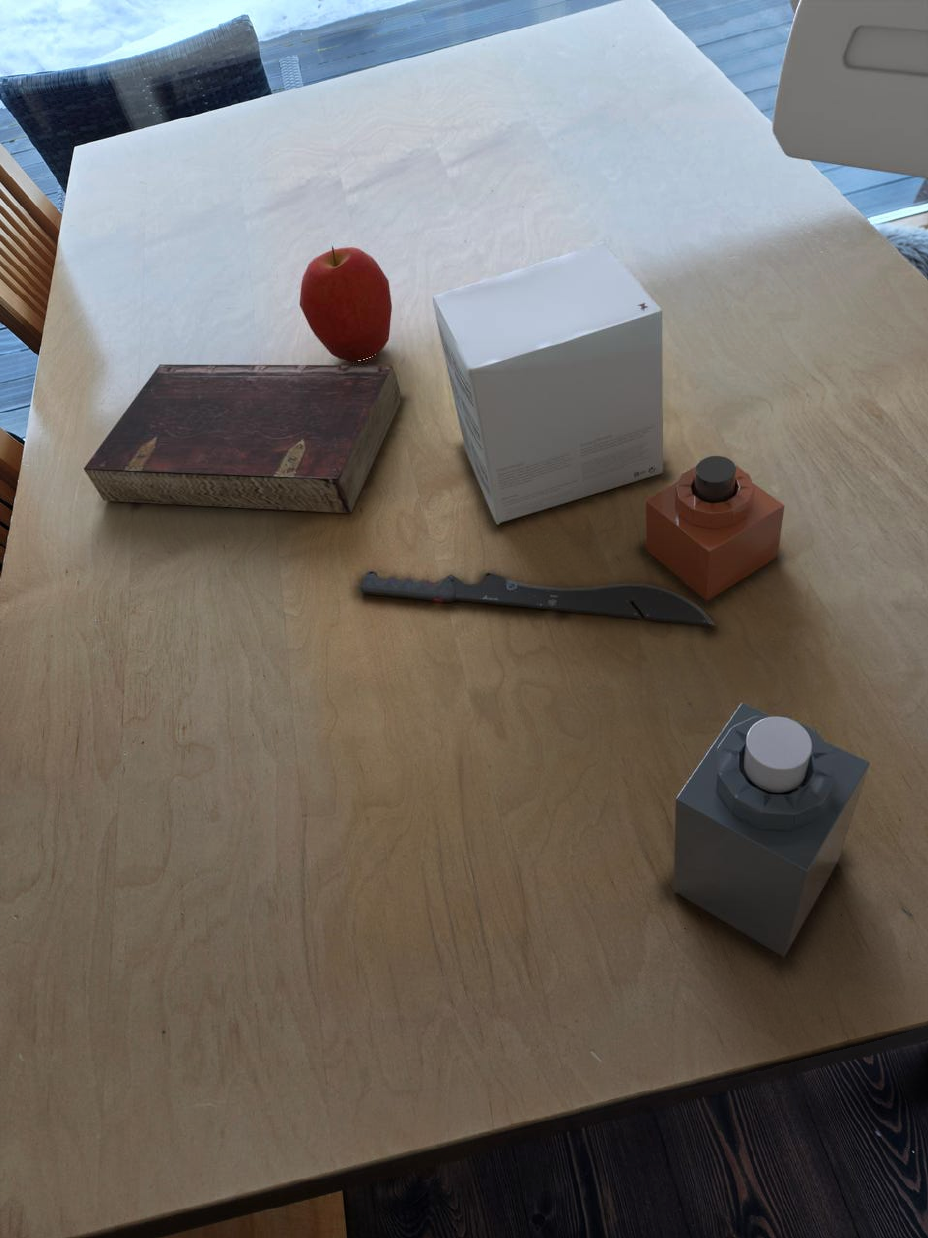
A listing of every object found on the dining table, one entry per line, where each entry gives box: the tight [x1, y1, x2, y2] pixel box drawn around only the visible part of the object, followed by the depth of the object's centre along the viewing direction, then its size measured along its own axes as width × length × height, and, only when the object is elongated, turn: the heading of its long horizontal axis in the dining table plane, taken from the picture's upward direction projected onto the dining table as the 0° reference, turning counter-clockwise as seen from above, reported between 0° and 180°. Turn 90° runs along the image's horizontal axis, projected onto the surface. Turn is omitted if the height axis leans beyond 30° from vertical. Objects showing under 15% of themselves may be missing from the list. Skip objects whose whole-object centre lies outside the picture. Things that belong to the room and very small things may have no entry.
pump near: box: [744, 716, 812, 793], centre depth 51 cm, size 3×3×3 cm
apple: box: [299, 245, 393, 364], centre depth 106 cm, size 10×10×14 cm
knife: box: [359, 570, 716, 627], centre depth 82 cm, size 32×4×1 cm, turn 75°
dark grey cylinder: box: [694, 455, 737, 503], centre depth 76 cm, size 3×3×2 cm
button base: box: [645, 464, 785, 602], centre depth 80 cm, size 8×8×8 cm
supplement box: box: [432, 241, 664, 525], centre depth 87 cm, size 17×13×18 cm
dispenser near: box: [673, 701, 871, 958], centre depth 58 cm, size 8×8×15 cm
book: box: [83, 364, 402, 514], centre depth 101 cm, size 29×19×5 cm, turn 77°
